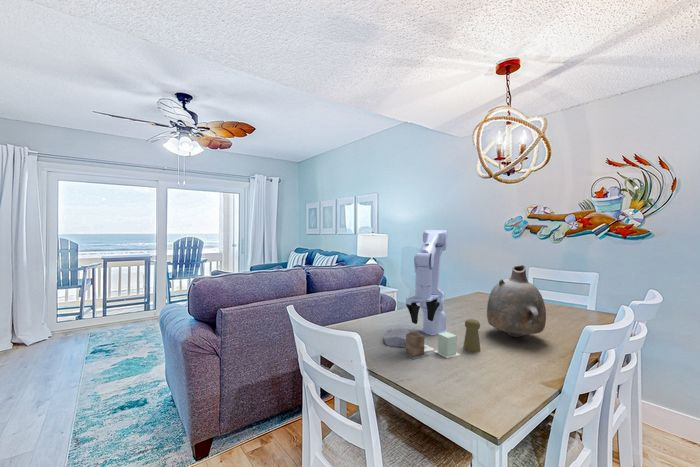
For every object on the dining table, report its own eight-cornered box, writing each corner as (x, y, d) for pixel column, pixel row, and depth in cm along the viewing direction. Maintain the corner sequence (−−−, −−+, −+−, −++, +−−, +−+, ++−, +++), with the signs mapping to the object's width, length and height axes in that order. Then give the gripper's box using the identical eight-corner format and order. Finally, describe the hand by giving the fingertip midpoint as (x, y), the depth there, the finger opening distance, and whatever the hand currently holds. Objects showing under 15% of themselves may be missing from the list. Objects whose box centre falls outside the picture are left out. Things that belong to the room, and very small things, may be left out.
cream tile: (422, 343, 117) (422, 343, 117) (434, 349, 112) (434, 349, 112) (409, 346, 114) (409, 346, 114) (421, 353, 109) (421, 352, 109)
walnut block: (415, 349, 110) (416, 332, 110) (424, 354, 106) (424, 336, 106) (405, 352, 108) (406, 333, 108) (413, 356, 104) (414, 338, 104)
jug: (472, 331, 132) (474, 262, 132) (504, 324, 142) (506, 260, 141) (527, 352, 111) (529, 270, 110) (561, 343, 120) (563, 267, 120)
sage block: (446, 349, 112) (447, 331, 112) (456, 354, 108) (456, 335, 108) (437, 351, 110) (438, 333, 110) (447, 356, 106) (447, 337, 106)
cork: (480, 347, 115) (480, 318, 114) (481, 353, 109) (482, 323, 109) (462, 345, 117) (463, 316, 116) (463, 351, 111) (464, 321, 111)
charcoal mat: (415, 348, 112) (415, 347, 112) (429, 356, 106) (429, 355, 106) (400, 352, 109) (400, 351, 109) (413, 360, 103) (413, 358, 103)
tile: (446, 348, 113) (446, 348, 113) (460, 355, 108) (460, 354, 108) (433, 351, 110) (433, 351, 110) (447, 358, 104) (447, 358, 104)
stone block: (384, 351, 114) (411, 348, 113) (382, 338, 115) (408, 335, 113) (386, 341, 126) (410, 338, 124) (384, 329, 126) (408, 326, 125)
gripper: (415, 288, 105) (414, 327, 106) (445, 285, 112) (445, 322, 113) (402, 285, 112) (401, 322, 112) (432, 282, 119) (431, 317, 119)
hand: (422, 321), depth 113 cm, fingers open, 7 cm apart
